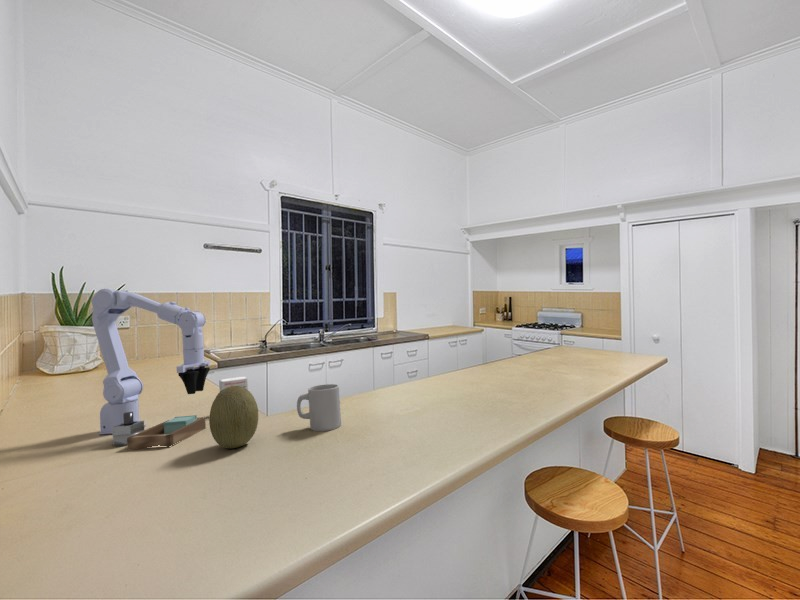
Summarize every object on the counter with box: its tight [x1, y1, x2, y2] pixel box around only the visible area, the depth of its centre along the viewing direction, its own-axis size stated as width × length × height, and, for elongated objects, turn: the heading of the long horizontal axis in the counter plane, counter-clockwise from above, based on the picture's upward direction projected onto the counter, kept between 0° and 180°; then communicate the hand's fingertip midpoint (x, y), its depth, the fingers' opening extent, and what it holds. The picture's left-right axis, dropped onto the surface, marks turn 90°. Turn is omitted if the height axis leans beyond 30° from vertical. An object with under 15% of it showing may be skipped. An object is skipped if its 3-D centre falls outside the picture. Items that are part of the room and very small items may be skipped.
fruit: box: [208, 386, 259, 449], centre depth 92 cm, size 11×11×15 cm
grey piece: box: [112, 420, 145, 448], centre depth 102 cm, size 7×7×5 cm
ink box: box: [218, 375, 249, 392], centre depth 129 cm, size 8×5×12 cm, turn 124°
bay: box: [127, 417, 207, 450], centre depth 103 cm, size 11×16×3 cm
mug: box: [296, 383, 342, 432], centre depth 104 cm, size 12×8×11 cm
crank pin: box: [123, 412, 134, 426], centre depth 103 cm, size 2×2×6 cm
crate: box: [162, 415, 198, 434], centre depth 109 cm, size 6×6×4 cm
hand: (195, 392), depth 117 cm, fingers open, 4 cm apart
